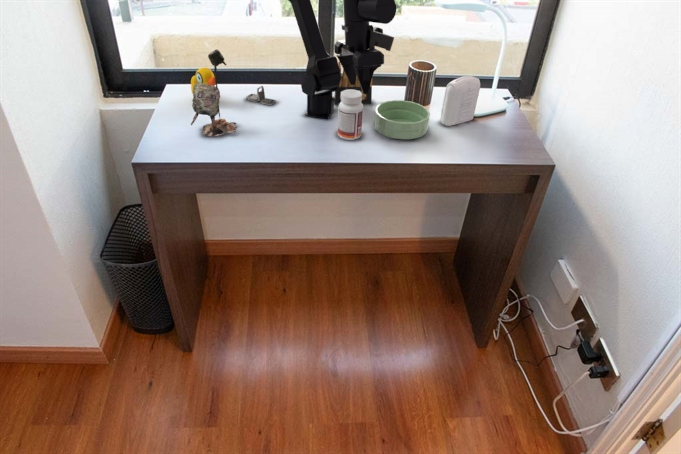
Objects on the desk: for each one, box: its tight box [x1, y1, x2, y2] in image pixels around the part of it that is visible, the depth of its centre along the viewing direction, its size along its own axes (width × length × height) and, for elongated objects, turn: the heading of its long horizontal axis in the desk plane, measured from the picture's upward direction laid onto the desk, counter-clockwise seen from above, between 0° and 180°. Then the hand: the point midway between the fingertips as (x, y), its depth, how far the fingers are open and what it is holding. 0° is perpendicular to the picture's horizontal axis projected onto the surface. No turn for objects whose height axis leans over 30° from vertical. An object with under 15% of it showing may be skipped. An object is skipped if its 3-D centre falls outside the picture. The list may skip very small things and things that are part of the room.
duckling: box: [190, 67, 216, 95], centre depth 139 cm, size 11×5×10 cm, turn 44°
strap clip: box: [246, 85, 277, 106], centre depth 143 cm, size 8×3×4 cm, turn 65°
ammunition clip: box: [333, 61, 373, 105], centre depth 143 cm, size 11×2×12 cm, turn 97°
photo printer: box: [439, 75, 481, 127], centre depth 136 cm, size 10×4×12 cm, turn 123°
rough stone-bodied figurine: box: [190, 49, 238, 137], centre depth 123 cm, size 8×11×20 cm
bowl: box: [373, 99, 431, 140], centre depth 133 cm, size 14×14×5 cm
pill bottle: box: [337, 89, 364, 141], centre depth 127 cm, size 6×6×11 cm
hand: (359, 89), depth 122 cm, fingers open, 9 cm apart
